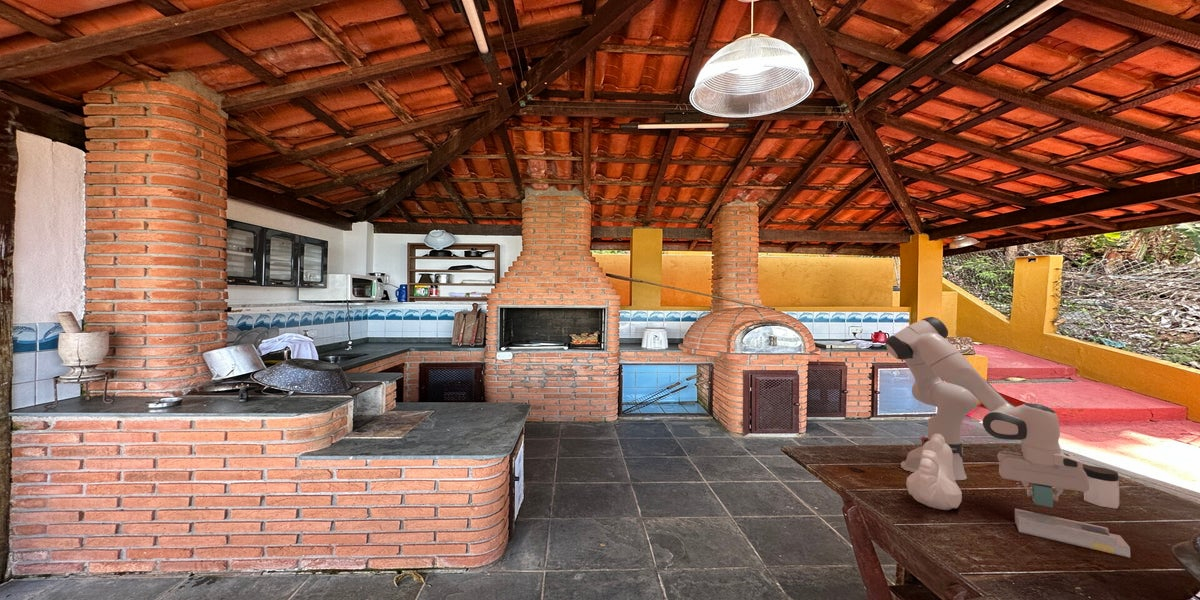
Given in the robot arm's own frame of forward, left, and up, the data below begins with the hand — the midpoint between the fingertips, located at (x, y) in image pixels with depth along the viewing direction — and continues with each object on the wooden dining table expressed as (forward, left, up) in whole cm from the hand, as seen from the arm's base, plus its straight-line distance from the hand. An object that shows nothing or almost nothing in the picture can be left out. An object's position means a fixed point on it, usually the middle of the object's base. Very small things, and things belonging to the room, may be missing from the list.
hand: (1042, 497), depth 137 cm
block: (0, 0, -2) cm, 2 cm away
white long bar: (+4, -10, -9) cm, 14 cm away
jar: (+20, +36, -9) cm, 42 cm away
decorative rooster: (-29, -6, -9) cm, 31 cm away
